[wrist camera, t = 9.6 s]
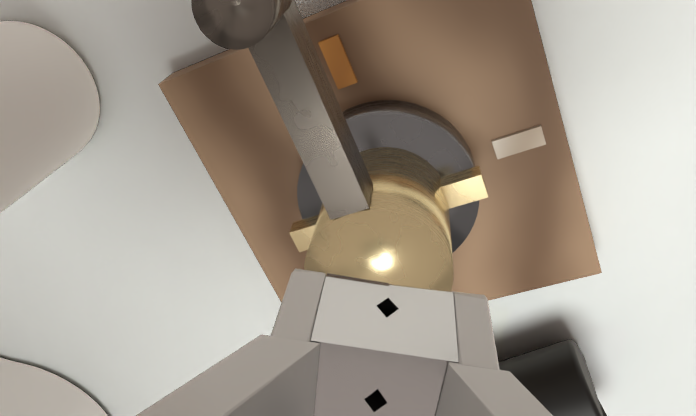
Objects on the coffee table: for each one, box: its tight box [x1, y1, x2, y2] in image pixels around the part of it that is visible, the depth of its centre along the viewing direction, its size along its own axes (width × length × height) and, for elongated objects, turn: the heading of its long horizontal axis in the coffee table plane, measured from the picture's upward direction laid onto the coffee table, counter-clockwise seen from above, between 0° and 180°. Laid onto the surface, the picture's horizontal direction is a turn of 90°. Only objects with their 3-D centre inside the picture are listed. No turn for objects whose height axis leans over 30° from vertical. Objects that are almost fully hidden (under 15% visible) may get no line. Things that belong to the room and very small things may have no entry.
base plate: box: [158, 0, 602, 302], centre depth 32 cm, size 18×18×2 cm
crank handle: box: [192, 0, 488, 292], centre depth 23 cm, size 16×10×8 cm, turn 23°
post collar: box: [297, 100, 479, 253], centre depth 30 cm, size 9×9×2 cm
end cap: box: [498, 339, 607, 416], centre depth 36 cm, size 10×7×7 cm
